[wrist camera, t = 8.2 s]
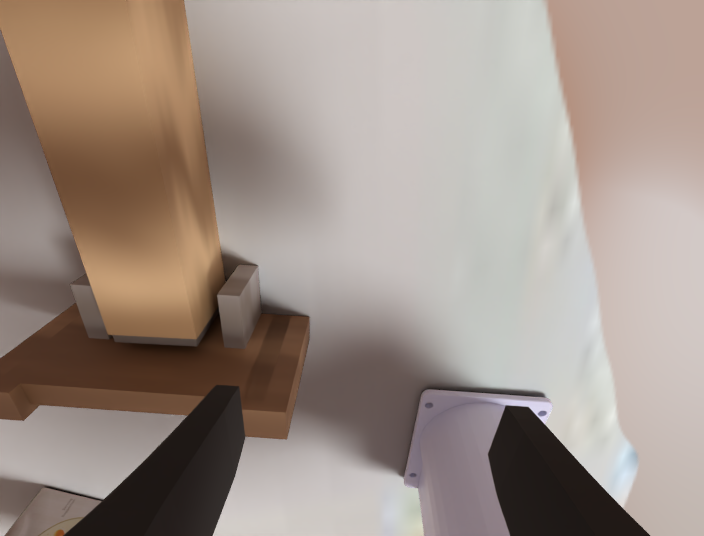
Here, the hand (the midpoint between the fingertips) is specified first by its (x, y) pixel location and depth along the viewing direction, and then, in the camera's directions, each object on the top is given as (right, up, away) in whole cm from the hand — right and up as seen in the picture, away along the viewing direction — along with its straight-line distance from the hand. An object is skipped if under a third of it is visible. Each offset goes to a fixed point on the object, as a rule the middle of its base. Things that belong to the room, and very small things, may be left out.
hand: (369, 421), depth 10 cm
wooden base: (-9, +3, +10) cm, 14 cm away
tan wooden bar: (-9, +9, +6) cm, 14 cm away
